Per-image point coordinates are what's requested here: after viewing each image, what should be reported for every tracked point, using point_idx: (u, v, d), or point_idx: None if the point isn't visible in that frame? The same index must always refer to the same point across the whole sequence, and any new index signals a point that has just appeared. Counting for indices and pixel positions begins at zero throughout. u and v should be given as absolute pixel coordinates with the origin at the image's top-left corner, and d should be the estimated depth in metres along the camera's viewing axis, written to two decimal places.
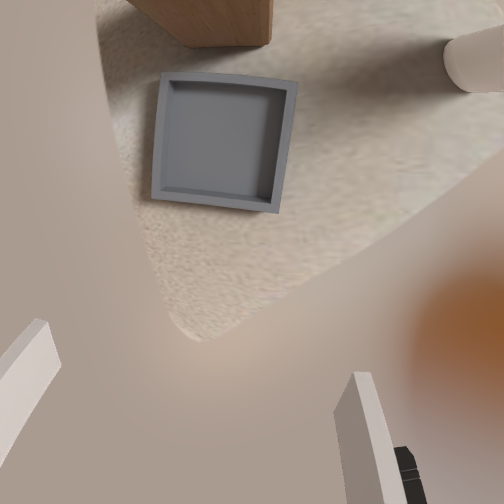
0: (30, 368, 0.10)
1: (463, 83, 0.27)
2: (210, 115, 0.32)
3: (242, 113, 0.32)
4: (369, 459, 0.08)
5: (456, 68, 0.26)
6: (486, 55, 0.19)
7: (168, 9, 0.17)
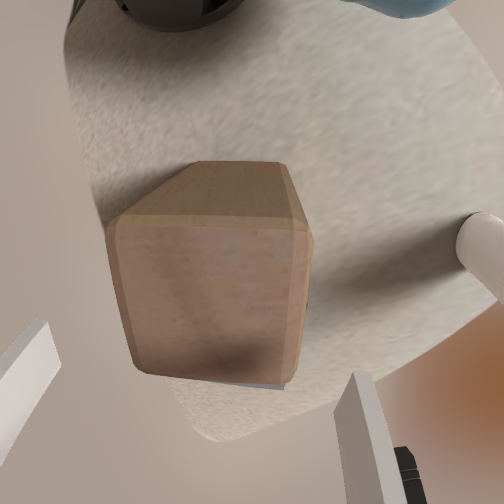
0: (30, 368, 0.10)
1: None
2: None
3: None
4: (369, 459, 0.08)
5: (465, 260, 0.31)
6: (496, 281, 0.25)
7: None
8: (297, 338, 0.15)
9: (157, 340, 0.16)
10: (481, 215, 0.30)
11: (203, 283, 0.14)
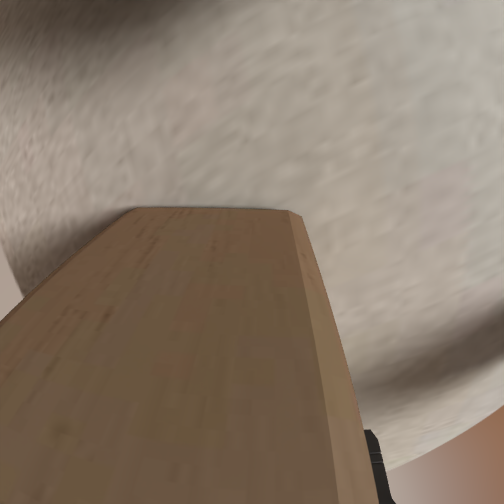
0: None
1: None
2: None
3: None
4: None
5: None
6: None
7: None
8: None
9: None
10: None
11: None
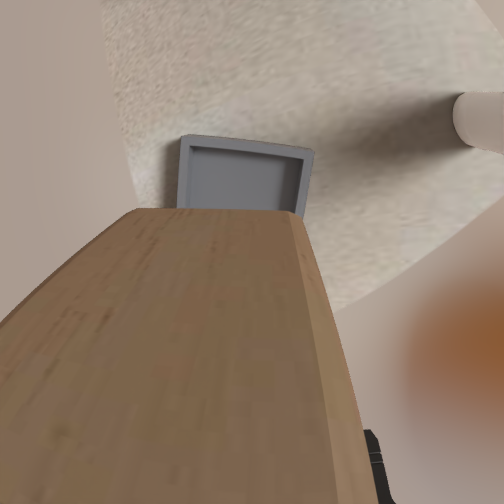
0: None
1: (470, 142, 0.30)
2: (229, 178, 0.36)
3: (259, 177, 0.36)
4: None
5: (464, 128, 0.30)
6: (495, 125, 0.23)
7: None
8: None
9: None
10: (471, 92, 0.29)
11: None
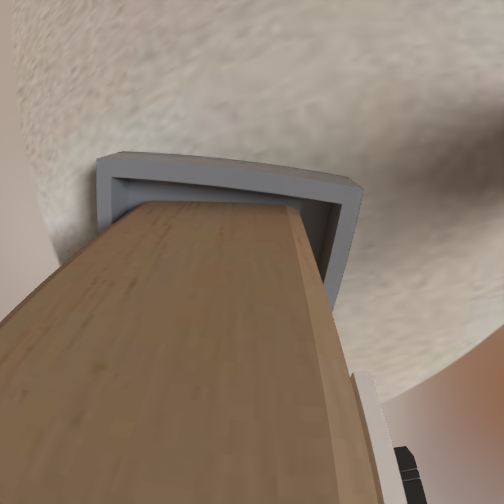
0: None
1: None
2: None
3: None
4: (369, 459, 0.08)
5: None
6: None
7: None
8: None
9: None
10: None
11: None
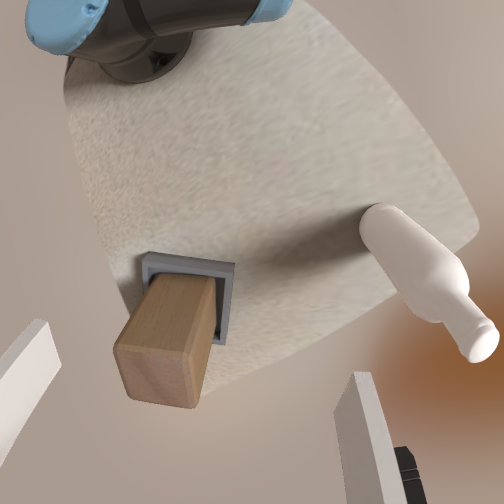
0: (30, 368, 0.10)
1: None
2: None
3: None
4: (369, 459, 0.08)
5: (364, 242, 0.45)
6: (377, 255, 0.38)
7: None
8: (192, 392, 0.35)
9: (137, 387, 0.35)
10: (379, 205, 0.44)
11: (152, 371, 0.33)
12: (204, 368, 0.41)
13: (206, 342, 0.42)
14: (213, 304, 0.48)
